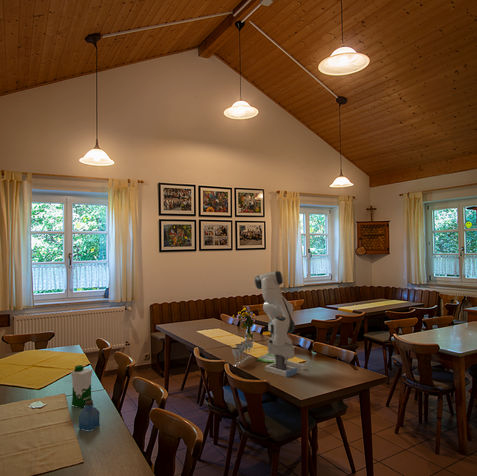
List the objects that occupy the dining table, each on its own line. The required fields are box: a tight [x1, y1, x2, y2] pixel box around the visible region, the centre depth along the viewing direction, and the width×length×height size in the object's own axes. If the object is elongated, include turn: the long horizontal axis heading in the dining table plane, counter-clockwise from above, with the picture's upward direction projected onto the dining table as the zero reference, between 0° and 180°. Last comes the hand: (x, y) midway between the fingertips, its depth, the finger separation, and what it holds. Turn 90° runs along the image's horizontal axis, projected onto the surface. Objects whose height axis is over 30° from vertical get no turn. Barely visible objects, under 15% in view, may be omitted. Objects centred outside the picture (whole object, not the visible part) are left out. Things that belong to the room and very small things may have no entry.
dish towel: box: [256, 352, 276, 365], centre depth 277 cm, size 17×23×4 cm
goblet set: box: [232, 339, 254, 367], centre depth 273 cm, size 28×6×13 cm, turn 154°
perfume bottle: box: [78, 400, 100, 431], centre depth 173 cm, size 6×6×12 cm
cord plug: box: [276, 354, 287, 371], centre depth 248 cm, size 5×5×10 cm
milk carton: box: [70, 364, 94, 408], centre depth 198 cm, size 9×9×20 cm
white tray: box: [264, 360, 306, 378], centre depth 251 cm, size 20×19×4 cm
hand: (281, 362), depth 248 cm, fingers closed on cord plug, 5 cm apart
